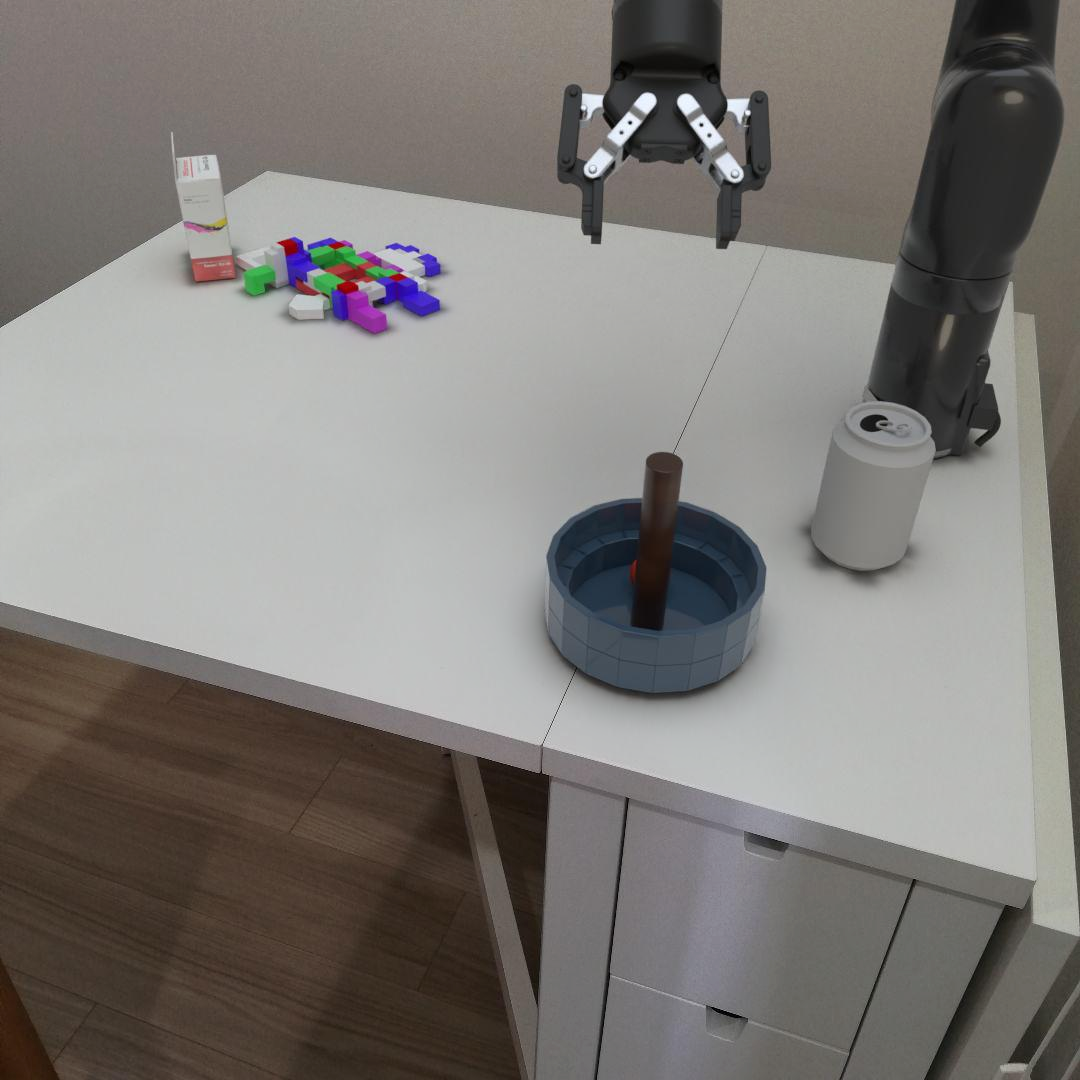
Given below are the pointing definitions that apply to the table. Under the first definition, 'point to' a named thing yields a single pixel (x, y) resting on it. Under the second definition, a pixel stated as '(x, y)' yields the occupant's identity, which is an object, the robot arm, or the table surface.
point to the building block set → (343, 279)
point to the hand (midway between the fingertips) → (659, 242)
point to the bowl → (691, 608)
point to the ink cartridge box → (204, 216)
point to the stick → (656, 539)
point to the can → (872, 485)
